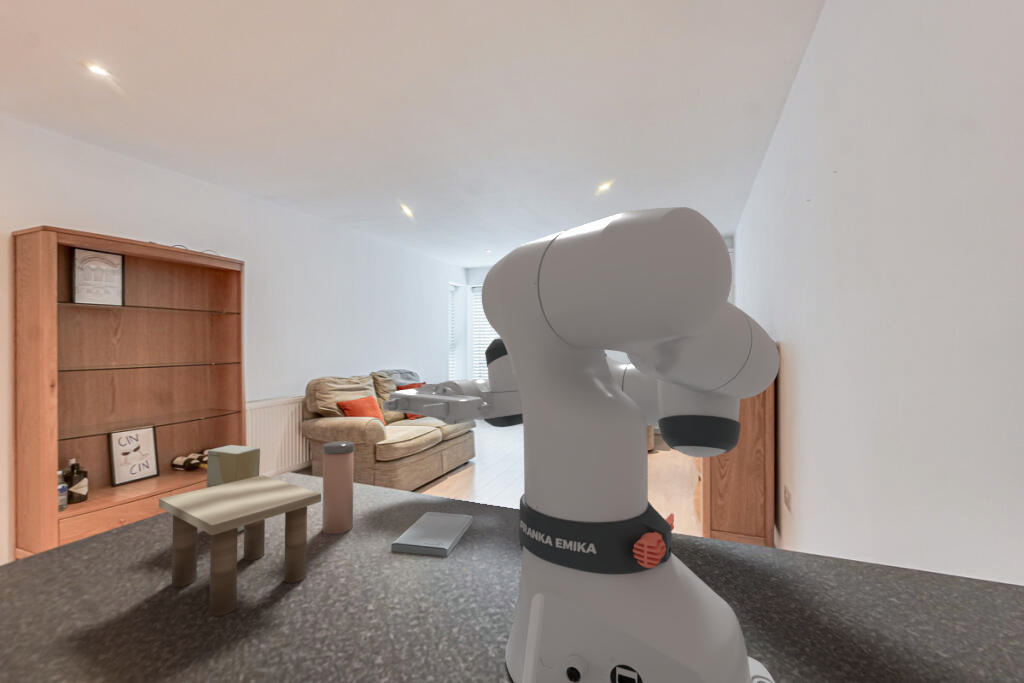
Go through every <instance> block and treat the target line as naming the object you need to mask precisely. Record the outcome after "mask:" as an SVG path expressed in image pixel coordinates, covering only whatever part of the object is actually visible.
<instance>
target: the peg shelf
mask: <svg viewBox="0 0 1024 683" xmlns="http://www.w3.org/2000/svg"><path fill="white" fill-rule="evenodd" d="M318 503H322V493H320V492H317V491H314V490H310V489H307V488H304V487H301V486H297V485H296V484H291V483H289V482H285V481H282V480H279V479H276V478H273V477H270V476H266V475H259V476H257V477H253V478H248V479H244V480H240V481H235V482H231V483H226V484H222V485H217V486H213V487H209V488H206V487H205V488H200V489H197V490H191V491H187V492H184V493H183V492H182V493H179V494H174V495H169V496H165V497H159V498H158V508H160V509H162V510H164V511H166V512H168V513H169V514H171V515H172V546H171V548H172V549H171V552H172V553H171V554H172V555H171V586H172V587H174V588H180V587H186V586H189V585H191V584H193V583H195V582H196V580H197V579H198V575H197V574H198V572H197V571H198V530H202V531H203V532H205V533H207V534H209V535H210V558H209V559H210V565H209V569H210V570H209V573H210V574H209V615H210V616H211V617H221V616H224V615H228V614H230V613H231V612H233V611H234V610H236V608H237V599H238V598H237V596H238V595H237V591H238V590H237V588H238V587H237V586H238V581H237V580H238V533H237V531H238V527H241V526H244V530H243V559H244V560H245V561H254V560H258V559H261V558H262V557H264V556H265V541H266V540H265V538H266V537H265V535H266V534H265V531H266V529H265V528H266V526H265V525H266V524H265V523H266V521H265V520H266V519H270V518H273V517H276V516H279V515H282V514H284V569H283V570H284V573H283V574H284V577H283V578H284V579H283V580H284V582H285V583H287V584H288V583H289V584H293V583H299V582H301V581H303V580H305V579H306V577H307V559H308V558H307V552H308V551H307V548H308V546H307V543H308V542H307V541H308V538H307V537H308V536H307V535H308V507H309V506H312V505H315V504H318Z"/></svg>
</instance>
